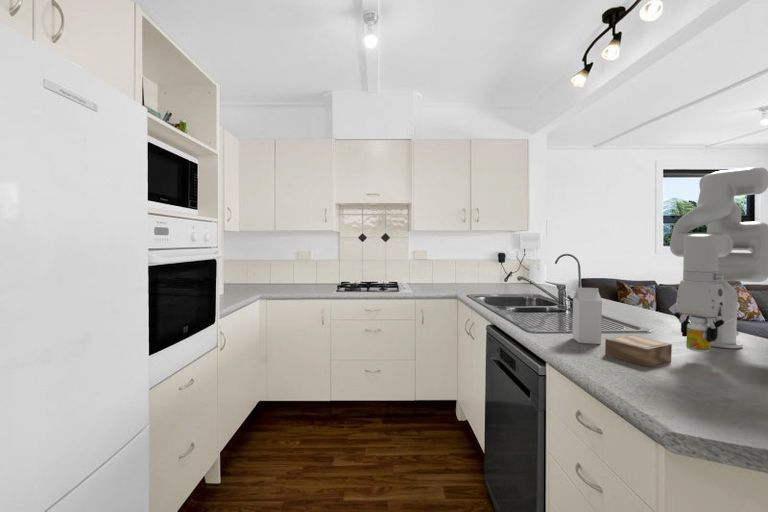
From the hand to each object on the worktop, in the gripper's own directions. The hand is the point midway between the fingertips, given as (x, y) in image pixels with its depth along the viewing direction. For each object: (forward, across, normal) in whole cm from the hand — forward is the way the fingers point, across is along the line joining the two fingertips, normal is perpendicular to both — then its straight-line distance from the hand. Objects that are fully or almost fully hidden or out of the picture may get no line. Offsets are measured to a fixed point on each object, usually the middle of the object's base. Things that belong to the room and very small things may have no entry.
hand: (698, 337), depth 106 cm
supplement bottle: (+4, 0, 0) cm, 4 cm away
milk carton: (+7, +29, +10) cm, 31 cm away
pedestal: (+7, +10, +13) cm, 17 cm away
